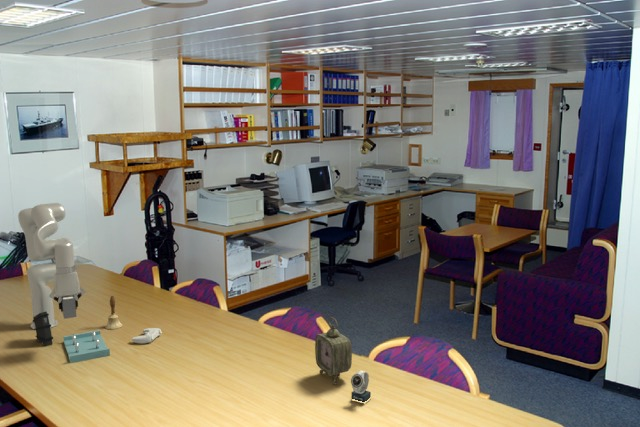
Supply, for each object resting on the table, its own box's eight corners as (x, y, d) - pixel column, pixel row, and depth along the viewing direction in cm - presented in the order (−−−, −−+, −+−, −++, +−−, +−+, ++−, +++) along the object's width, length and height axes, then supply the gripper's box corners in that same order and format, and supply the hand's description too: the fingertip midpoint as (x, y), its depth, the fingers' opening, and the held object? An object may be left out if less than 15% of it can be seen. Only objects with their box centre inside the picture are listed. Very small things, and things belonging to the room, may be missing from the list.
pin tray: (63, 342, 266) (62, 331, 265) (100, 336, 274) (99, 325, 273) (70, 363, 244) (69, 351, 243) (109, 355, 252) (109, 344, 251)
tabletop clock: (315, 373, 233) (314, 314, 229) (334, 368, 238) (334, 310, 234) (333, 387, 221) (333, 325, 217) (353, 382, 225) (353, 321, 221)
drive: (61, 310, 258) (60, 293, 257) (73, 308, 260) (72, 291, 259) (63, 318, 247) (62, 300, 246) (76, 316, 250) (75, 299, 248)
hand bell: (122, 322, 292) (120, 292, 289) (122, 328, 284) (120, 297, 281) (105, 324, 289) (103, 294, 287) (104, 330, 281) (102, 299, 279)
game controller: (144, 326, 278) (163, 324, 276) (146, 335, 278) (165, 332, 276) (129, 337, 264) (148, 335, 262) (131, 346, 265) (150, 344, 262)
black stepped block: (47, 345, 259) (39, 313, 261) (38, 349, 268) (30, 318, 271) (56, 342, 262) (47, 310, 264) (46, 347, 271) (39, 316, 273)
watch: (348, 402, 209) (348, 374, 208) (360, 393, 216) (360, 366, 214) (361, 406, 206) (361, 378, 204) (373, 398, 213) (373, 370, 211)
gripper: (85, 265, 258) (88, 304, 261) (43, 270, 250) (47, 310, 253) (87, 269, 251) (90, 309, 254) (44, 274, 243) (48, 315, 246)
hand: (68, 309), depth 254 cm, fingers closed on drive, 5 cm apart
